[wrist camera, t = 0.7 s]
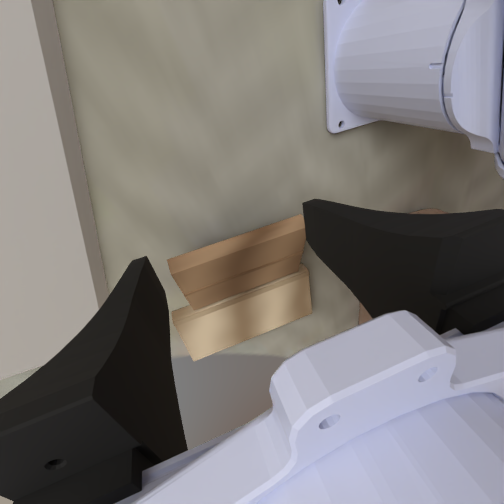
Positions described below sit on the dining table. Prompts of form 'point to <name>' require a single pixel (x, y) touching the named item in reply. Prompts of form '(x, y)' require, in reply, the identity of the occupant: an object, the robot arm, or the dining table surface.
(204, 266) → the plank
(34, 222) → the crown molding
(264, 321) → the floor strip
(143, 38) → the dining table surface
